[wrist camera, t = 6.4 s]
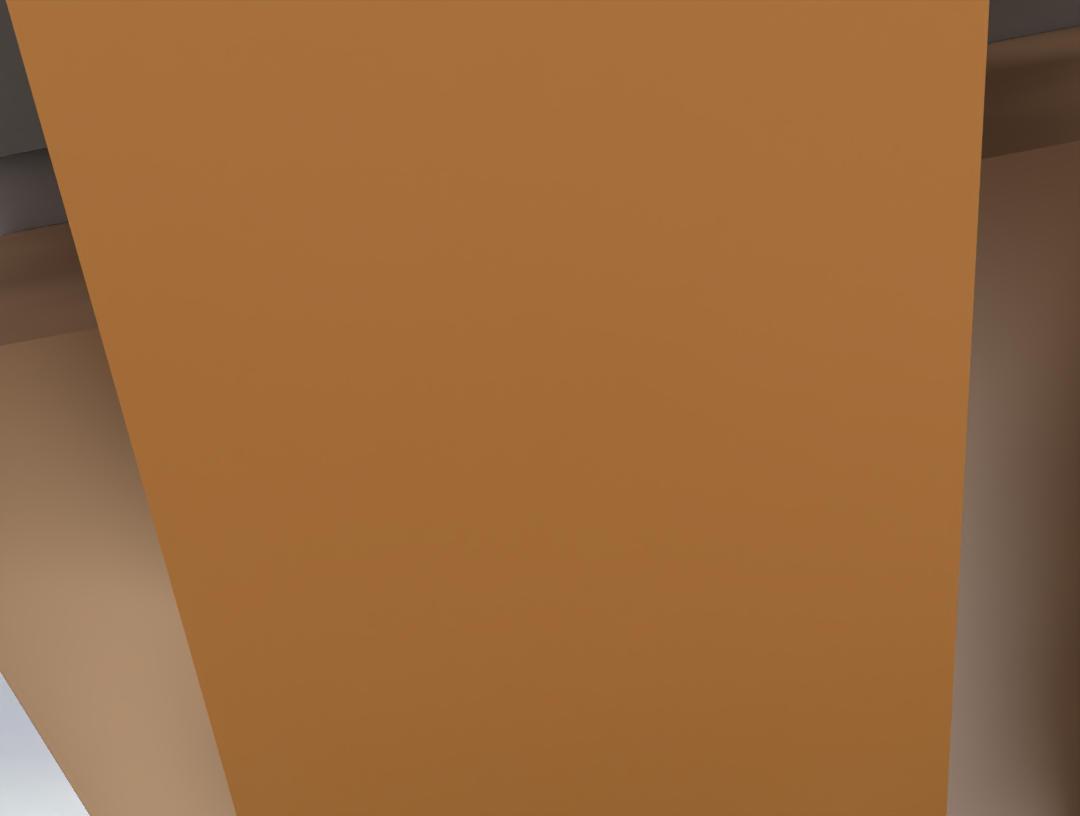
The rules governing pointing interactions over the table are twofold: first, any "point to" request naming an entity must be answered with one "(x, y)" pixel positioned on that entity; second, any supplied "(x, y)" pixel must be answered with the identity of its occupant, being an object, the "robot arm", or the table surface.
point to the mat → (16, 96)
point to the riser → (986, 536)
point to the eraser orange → (542, 385)
